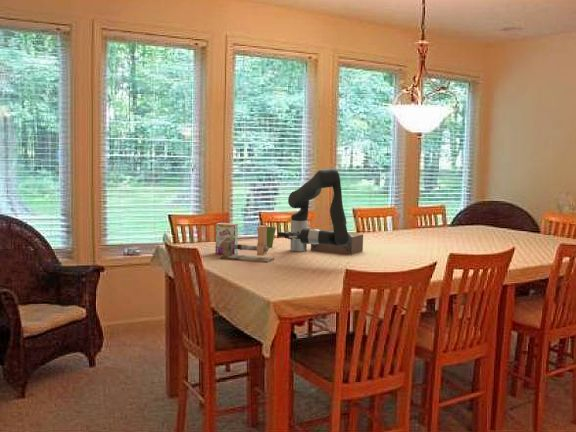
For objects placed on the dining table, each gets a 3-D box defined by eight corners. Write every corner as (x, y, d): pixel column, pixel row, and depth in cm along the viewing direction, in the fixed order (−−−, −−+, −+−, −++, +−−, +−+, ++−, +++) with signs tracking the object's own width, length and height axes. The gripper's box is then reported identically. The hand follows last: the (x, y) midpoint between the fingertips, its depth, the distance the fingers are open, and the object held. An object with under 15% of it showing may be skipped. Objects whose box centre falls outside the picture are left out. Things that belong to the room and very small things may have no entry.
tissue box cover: (310, 250, 357) (311, 233, 356) (322, 247, 369) (323, 230, 368) (351, 255, 343) (352, 237, 342) (362, 251, 356) (363, 234, 355)
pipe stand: (227, 255, 331) (228, 239, 330) (274, 259, 323) (274, 243, 323) (220, 258, 322) (220, 242, 321) (267, 262, 314) (267, 246, 313)
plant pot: (277, 245, 369) (277, 226, 368) (274, 248, 357) (275, 229, 356) (257, 244, 370) (257, 226, 369) (254, 248, 359) (254, 228, 357)
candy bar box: (215, 253, 336) (215, 223, 334) (218, 252, 341) (218, 222, 339) (234, 255, 333) (235, 224, 331) (237, 253, 338) (238, 223, 336)
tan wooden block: (261, 253, 323) (261, 225, 322) (266, 253, 322) (267, 225, 321) (257, 255, 318) (257, 226, 316) (262, 255, 317) (263, 226, 315)
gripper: (314, 227, 317) (282, 225, 322) (307, 230, 304) (273, 228, 309) (314, 242, 318) (281, 239, 323) (307, 245, 305) (273, 243, 310)
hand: (278, 234), depth 316 cm, fingers closed
